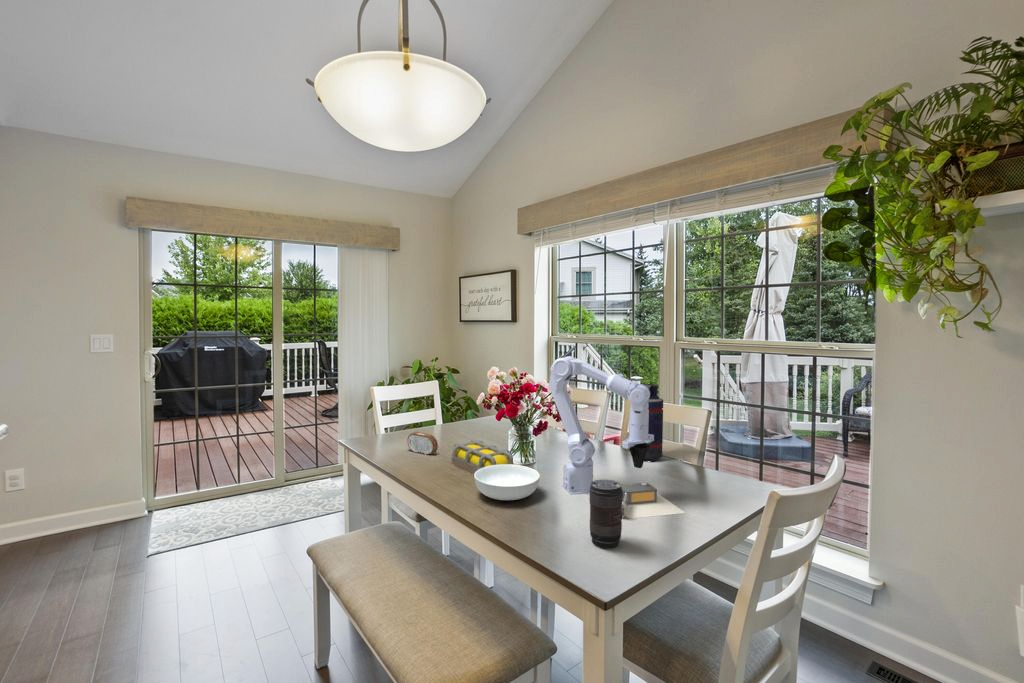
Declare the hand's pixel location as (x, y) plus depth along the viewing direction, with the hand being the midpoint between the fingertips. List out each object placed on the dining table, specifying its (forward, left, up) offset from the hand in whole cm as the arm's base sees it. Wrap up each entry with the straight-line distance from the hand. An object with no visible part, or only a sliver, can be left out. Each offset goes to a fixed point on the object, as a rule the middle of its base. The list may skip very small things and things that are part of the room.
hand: (638, 467), depth 150 cm
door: (-9, -9, -9) cm, 16 cm away
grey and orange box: (-1, -2, -10) cm, 10 cm away
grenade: (+24, +38, -10) cm, 46 cm away
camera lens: (-22, -25, -10) cm, 35 cm away
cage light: (-42, +41, -10) cm, 60 cm away
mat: (-1, -6, -10) cm, 12 cm away
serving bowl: (-39, +12, -10) cm, 42 cm away
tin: (-63, +66, -10) cm, 92 cm away
